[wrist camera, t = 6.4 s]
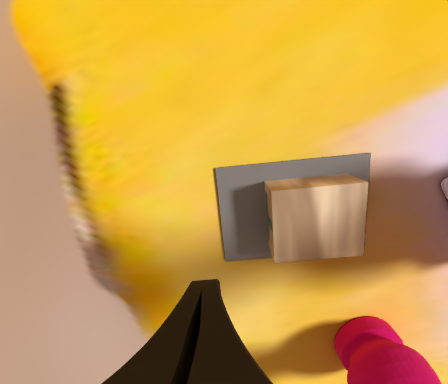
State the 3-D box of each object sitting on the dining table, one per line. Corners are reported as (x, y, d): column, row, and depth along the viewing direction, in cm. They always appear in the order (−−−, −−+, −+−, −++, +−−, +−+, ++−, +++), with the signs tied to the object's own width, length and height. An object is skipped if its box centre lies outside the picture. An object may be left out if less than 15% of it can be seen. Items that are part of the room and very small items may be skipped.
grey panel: (369, 152, 20) (370, 153, 20) (362, 248, 22) (364, 249, 22) (215, 167, 20) (215, 168, 20) (225, 260, 23) (225, 261, 23)
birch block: (274, 263, 19) (363, 255, 19) (271, 191, 17) (368, 182, 17) (267, 243, 22) (343, 237, 22) (264, 181, 21) (346, 173, 20)
